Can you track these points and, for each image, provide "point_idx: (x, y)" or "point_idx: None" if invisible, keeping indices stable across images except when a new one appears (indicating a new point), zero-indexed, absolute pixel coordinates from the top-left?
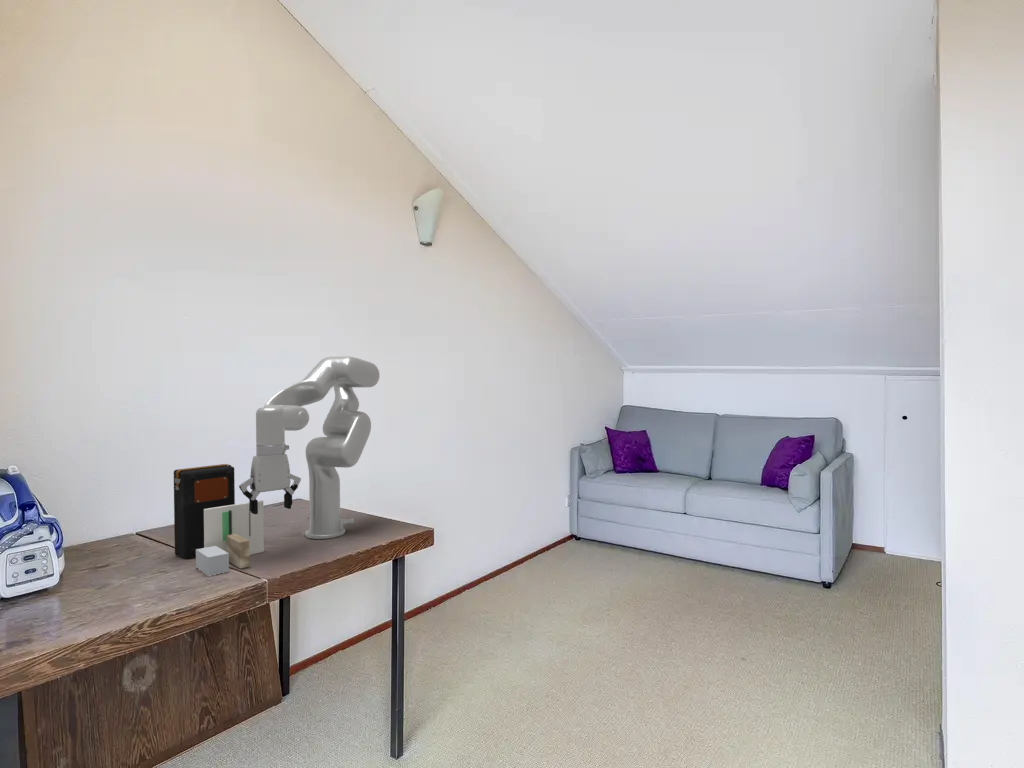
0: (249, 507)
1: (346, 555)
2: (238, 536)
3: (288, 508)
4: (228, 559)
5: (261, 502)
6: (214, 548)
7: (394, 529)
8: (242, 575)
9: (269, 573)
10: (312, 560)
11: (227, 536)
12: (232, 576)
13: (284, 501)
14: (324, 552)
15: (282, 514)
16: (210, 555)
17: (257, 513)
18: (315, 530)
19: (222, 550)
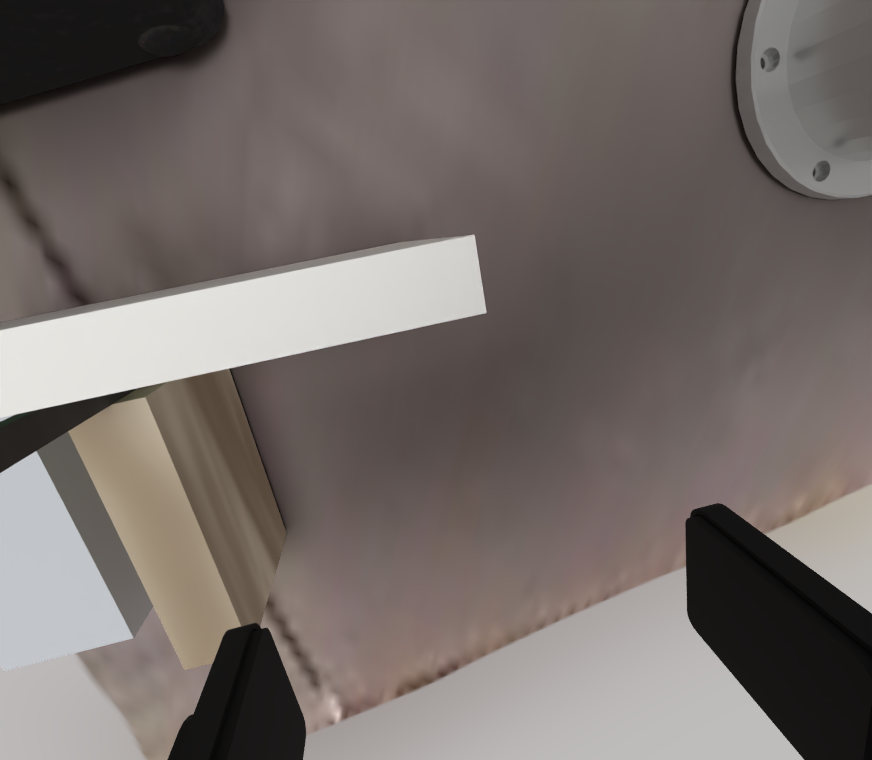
0: (170, 755)
1: None
2: (175, 504)
3: (689, 615)
4: (150, 607)
5: (441, 319)
6: (18, 487)
7: None
8: None
9: (363, 645)
10: (574, 554)
11: (76, 439)
12: None
13: (750, 575)
14: (668, 460)
15: None
16: (11, 638)
17: (303, 723)
18: (820, 99)
19: (86, 562)
